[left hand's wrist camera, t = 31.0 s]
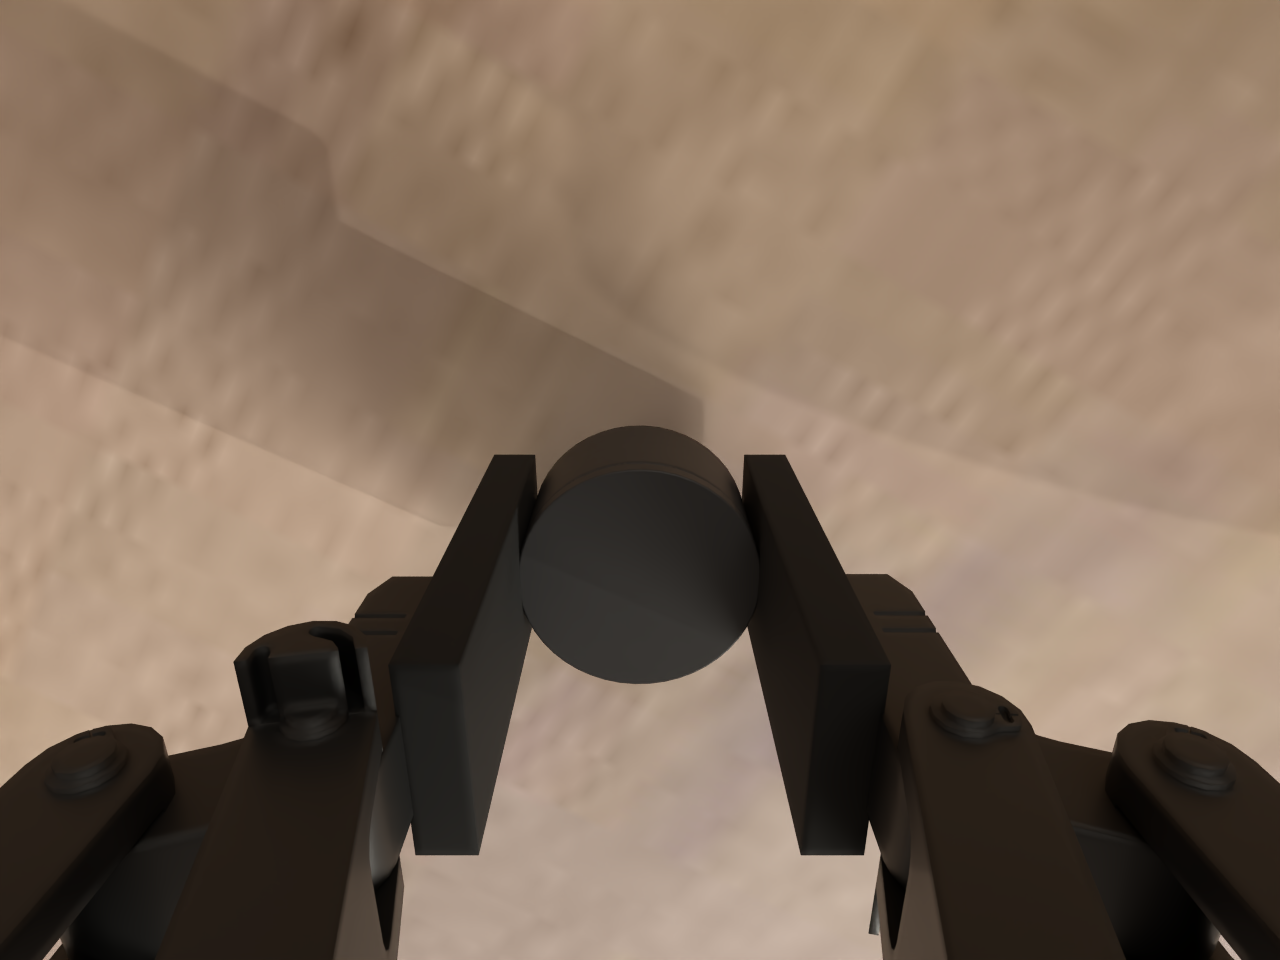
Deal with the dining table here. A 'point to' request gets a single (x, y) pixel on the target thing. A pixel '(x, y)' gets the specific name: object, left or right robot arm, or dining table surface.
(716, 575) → the cap
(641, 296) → the dining table surface
